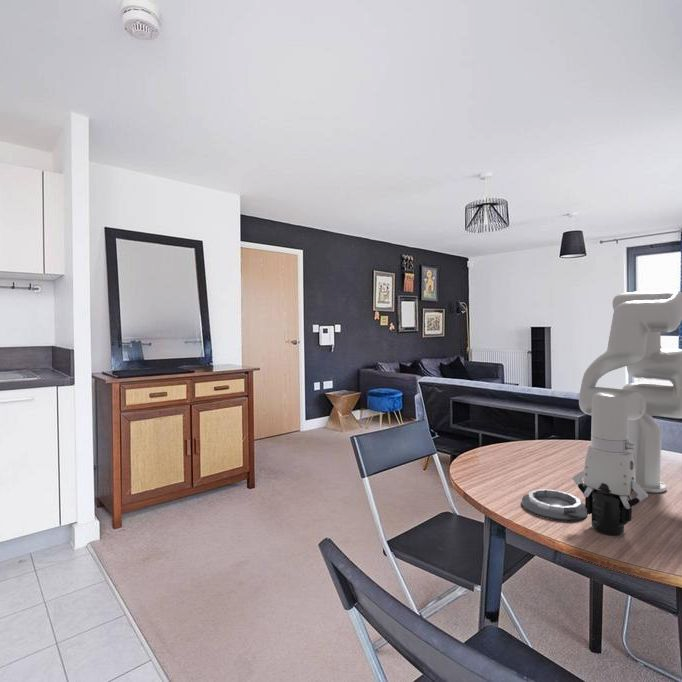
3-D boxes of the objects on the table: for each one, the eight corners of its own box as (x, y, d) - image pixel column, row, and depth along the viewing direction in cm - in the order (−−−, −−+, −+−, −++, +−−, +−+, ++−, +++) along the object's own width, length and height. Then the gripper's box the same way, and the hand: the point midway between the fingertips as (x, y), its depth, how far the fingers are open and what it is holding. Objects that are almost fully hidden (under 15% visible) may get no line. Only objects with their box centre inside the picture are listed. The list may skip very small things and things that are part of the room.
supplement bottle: (612, 523, 110) (613, 475, 109) (630, 536, 103) (632, 485, 102) (585, 523, 109) (585, 476, 109) (602, 537, 102) (603, 486, 102)
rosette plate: (538, 492, 130) (538, 482, 130) (597, 509, 118) (597, 499, 118) (510, 506, 120) (511, 496, 119) (572, 527, 107) (572, 516, 107)
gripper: (656, 449, 101) (655, 525, 102) (577, 435, 114) (576, 502, 115) (646, 455, 96) (644, 535, 97) (564, 440, 109) (563, 510, 110)
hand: (607, 517), depth 106 cm, fingers closed on supplement bottle, 6 cm apart
